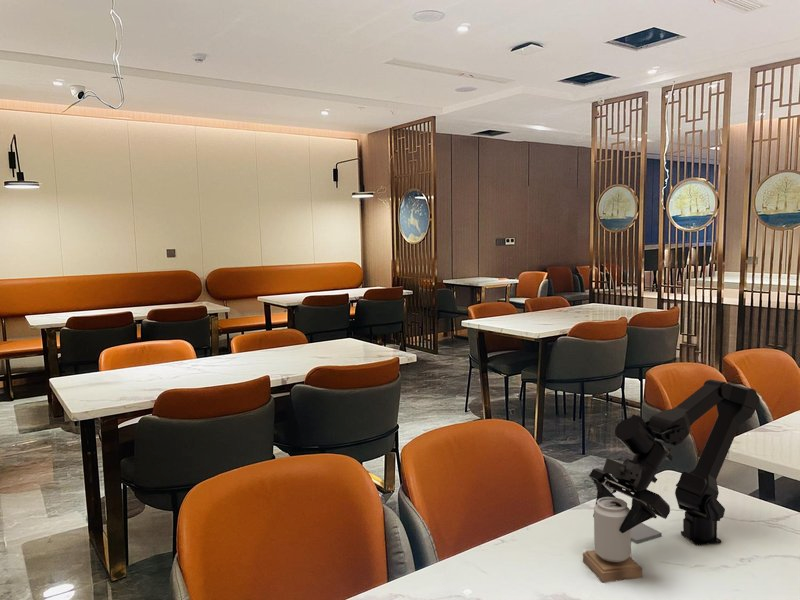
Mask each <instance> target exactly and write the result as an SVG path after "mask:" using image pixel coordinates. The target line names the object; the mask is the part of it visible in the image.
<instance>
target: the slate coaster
mask: <svg viewBox="0 0 800 600" xmlns="http://www.w3.org/2000/svg"><path fill="white" fill-rule="evenodd" d="M662 534H663V533H662V532H660V531H658V530H656V529H655V528H652V527H650V526H649V525H647V524H645V523H644V522H642V523H640V524H638V525H637V526H635V527H633V528H631V542H633V543H634V544H641V543H643V542H648V541H650V540H654V539H657V538H660V537H662Z"/></svg>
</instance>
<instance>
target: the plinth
mask: <svg viewBox="0 0 800 600" xmlns="http://www.w3.org/2000/svg"><path fill="white" fill-rule="evenodd" d="M582 561H583V563H584V564H585V565H586V566H587V567H588V569H590V571H591V572H592V573H593V572H594V573H595V574H596V575H597V576H598V577H599V578H600V579H601V580H600V579H599V578H598V577H597V576H596V575H595V574H594V573H593V574H594V575H595V576H596V577H597V578H598V579H599V580H600V581H601V582H602V583H608V582H607V581H611V582H617V581H616V580H618V581H624V579H626V580H633V579H632V578H634V579H641V578H643V567H642V566H640V565H639V563H638V562H636V561H635V560H634V559H633V558H632V557H631V556H630V557H628V558H627V559H626V560H624V561H622V562H611V561H607V560H604V559H602V558H601V557H600V556H599V555H598V554H597V553H596V552H595V549H592V550H587V551H585V552H582ZM640 577H641V578H640Z"/></svg>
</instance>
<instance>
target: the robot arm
mask: <svg viewBox="0 0 800 600" xmlns="http://www.w3.org/2000/svg"><path fill="white" fill-rule="evenodd" d="M759 405H760V396H759V394H758V393H757V391H756V390H755V389H754V388H751V387H750V388H749V387H745V386H740V385H734V384H731V383H728V382H726V381H721V380H718V379H712V378H711V379H706V380H705V382H704V383H703V385H702V386H701V387H699V388H698V389H697V390H696V391H695V392H693V393H692V394H691V395H689V396H688V397H687V398H686V399H684V400H683V401H681V402H680V403H679V404H678V405H676V407H675V406H674V407H673V408H669V409H663V410H660V411H659V412H658V413H657V412H656V413H654V415H652V416H651V417H650V418H649V419H647V420H644V419H643V417H642V416H641V415H638V414H634V413H633V414H632V415H631V416H630V417H629V418H625V419H623V420H622V421H620V422H618V423H617V425H616V427H615V428H614V434H615V437H616V438H617V439H618V440H619V441H620V442H621V443H622V444H623V445H624V446H625V447H626V448H627V450H628V451H629V452H630V453H632V454H633V456H632V457H631V459H629V458H626V459H624V460H623V462H620V461H617V460H615V459H612V458H609V457H606V459H605V462H604V465H603V468H602V469H600V468H593V469H592V470H591V472H590V473H589V474H588V478H589V479H591V481H593V484H594V486H595V487H596V491H597V493H596V500H595V505H596V504H597V500H598V499H600V498H603V497H614V498H617V497H616V496H615V495H614V494H615V493H617V492H618V493H620V494H622V495H624V496H627V497H629V498H630V499H631V507H630V508H629V509H630V511H629V513H628V514H627V516H626V518H625V519H624V521H623V523H622V525H621V527H620V529H619V531H620V532H621V533H625V532H626V531H628V530H630V529H631V528H633V527H635V526H637V525H638V524H640V523H645V522H646V521H648V520H651V519H657V518H658V517H661V518H662V519H665V520H666V519H667V518H668V517H669V514H670V513H671V506H670V504H669V503H668V502H667V501H666V500H665V499H664V498H663V497H662V496H661V495H660V494H658V493H657V492H654V491H652V490H649V489H648V488H649V486H650V484H651V483H654V484H656V482H658V478H657V477H656V474H657V473H658V471H659V470H660V468H661V466H662V465H663V463H664V461H665V460H667V461H670V462H672V461H674V458H673V454H672V451H671V448H670V447H667V446H666V445H665V446H664V444H663V443H666V444H667V445H671V446H679V445H680V444H682V443H683V441H684V440H685V439H686V438H687V437H688V435H690V433H691V427H692V426H693V424H694V423H695V422H697V421H698V420H699V419H701V417H703V416H704V415H705V414H707V413H708V411H710V410H711V409H712V408H714V407H715V406H716V411H717V416H716V417H717V418H716V419H715V421H714V424H713V427H712V429H711V430H710V433H709V435H708V438H707V439H706V442H705V444H704V446H703V449H702V451H701V454H700V456H699V457H698V460H697V463H696V465H695V467H694V468H693V469H692V470H690V471H689V472H687V471H685V470H683V471H682V472H681V474H680V477H679V480H678V482H677V483H676V484H675V487H676V488H675V490H674V495H675V500H676V502H677V505H678V508H679V510H681V511H682V510H683V511H685V512H684V518H683V519H682V523H683V525H682V527H683V528H682V529H683V530H681V531H680V535H682V536H683V537H684V538H686V539H688V540H689V541H690V542H691V543H692V544H694V545H695V546H704V545H713V544H720V543H722V539H720V538H719V537H718V534H717V533H718V526H717V525H718V522H721V519H723V518H724V516H725V511H726V509H725V506H723V504H722V503H720V501H719V500H718V496H719V493H720V492H719V487H718V481H717V478H718V476H719V473H720V472H721V470H722V467H723V465H724V463H725V460H726V458H727V455H728V453H729V451H730V448H731V447H732V444H733V442H734V439H735V438H736V435H737V432H738V431H739V428H740V426H741V425H742V424H744V423H745V422H747V421H748V420H749V419H751V418H752V417H753V416H754V414H755V411H756V410H757V409H758V407H759ZM661 442H662V443H661ZM595 505H594V506H595ZM592 517H593V518H594V513H593V515H592Z"/></svg>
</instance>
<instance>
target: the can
mask: <svg viewBox="0 0 800 600" xmlns="http://www.w3.org/2000/svg"><path fill="white" fill-rule="evenodd" d="M596 500H597V499H596ZM595 504H596V503H595ZM630 509H631V508H629V507H628V502H627V501H625V500H624V499H622V498H619V497H616V498H614V497H603V498H600V499H598V500H597V504H596V505H594V506H593V514H594V517H593V524H594V525H593V528H594V529H593V530H594V531H593V534H594V535H593V536H594V537H593V539H594V540H593V542H594V547H593V548H594V549H593V550H595V552H596V553H597V554H598V555H599V556H600V557H601V558H602V559H604V560H607V561H611V562H622V561H624V560H626V559H627V558H628V557H631V555H632V541H631V529H630V530H628V531H626V532H625V533H621V532H620V531H619V529H620V527H621V525H622V523H623V521H624V519H625V518H626V516H627V514H628V513H629V511H630Z"/></svg>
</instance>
